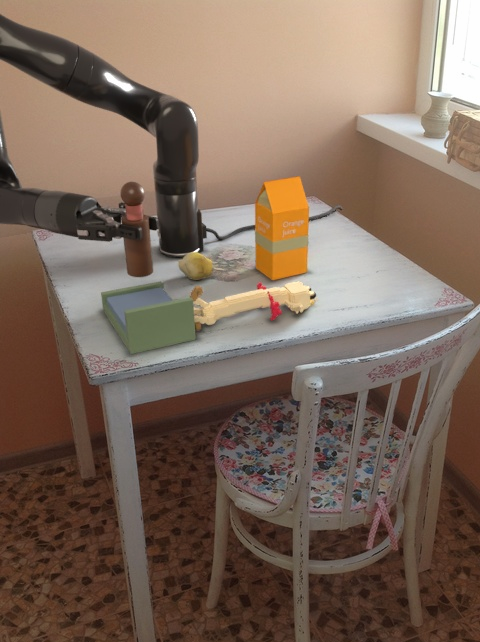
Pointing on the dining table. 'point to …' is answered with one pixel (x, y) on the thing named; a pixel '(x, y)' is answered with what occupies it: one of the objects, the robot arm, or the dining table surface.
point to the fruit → (196, 266)
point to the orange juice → (281, 228)
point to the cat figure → (253, 302)
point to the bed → (149, 317)
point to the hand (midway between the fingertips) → (149, 228)
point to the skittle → (140, 249)
